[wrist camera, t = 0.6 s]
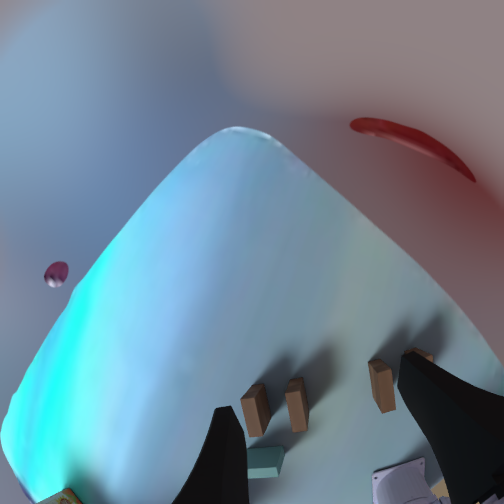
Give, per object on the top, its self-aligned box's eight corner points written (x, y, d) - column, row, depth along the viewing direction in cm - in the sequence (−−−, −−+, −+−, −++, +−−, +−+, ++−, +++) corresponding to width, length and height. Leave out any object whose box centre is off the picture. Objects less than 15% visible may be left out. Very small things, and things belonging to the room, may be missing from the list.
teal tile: (284, 454, 32) (278, 476, 26) (249, 457, 32) (238, 478, 27) (282, 445, 32) (276, 467, 26) (247, 448, 33) (235, 469, 27)
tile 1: (415, 347, 31) (432, 355, 25) (419, 382, 29) (435, 395, 24) (404, 351, 31) (419, 359, 25) (408, 386, 30) (423, 400, 24)
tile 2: (379, 358, 31) (391, 368, 26) (384, 393, 30) (395, 409, 25) (367, 362, 32) (377, 373, 26) (373, 397, 31) (382, 413, 25)
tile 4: (264, 383, 34) (254, 397, 28) (271, 417, 33) (263, 436, 27) (252, 385, 34) (240, 399, 29) (259, 418, 33) (249, 437, 28)
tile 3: (302, 377, 33) (299, 390, 27) (309, 411, 32) (307, 430, 26) (290, 379, 33) (285, 393, 28) (297, 413, 32) (292, 432, 27)
